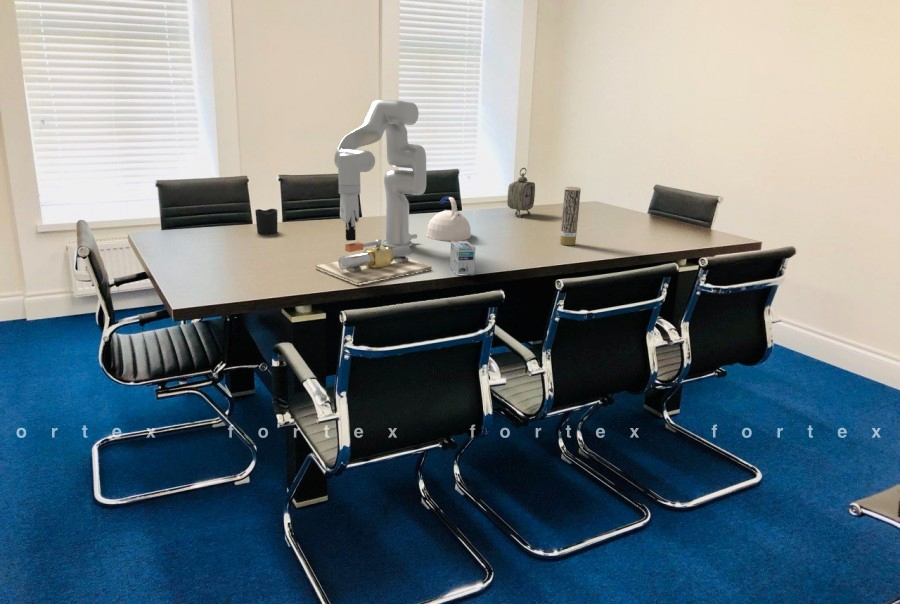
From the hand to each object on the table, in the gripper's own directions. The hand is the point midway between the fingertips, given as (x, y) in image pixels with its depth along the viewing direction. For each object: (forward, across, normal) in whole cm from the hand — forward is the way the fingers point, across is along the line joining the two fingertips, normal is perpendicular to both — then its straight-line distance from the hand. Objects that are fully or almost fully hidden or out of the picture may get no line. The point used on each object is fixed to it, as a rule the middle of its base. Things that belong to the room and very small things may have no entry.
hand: (350, 239), depth 247 cm
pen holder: (+14, -71, -21) cm, 76 cm away
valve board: (+12, -2, +9) cm, 15 cm away
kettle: (+15, -48, +56) cm, 75 cm away
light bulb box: (+13, +8, +40) cm, 43 cm away
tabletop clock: (+16, -85, +110) cm, 140 cm away
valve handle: (+3, +1, +5) cm, 6 cm away
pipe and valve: (+11, -1, +9) cm, 14 cm away
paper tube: (+15, -21, +102) cm, 106 cm away
